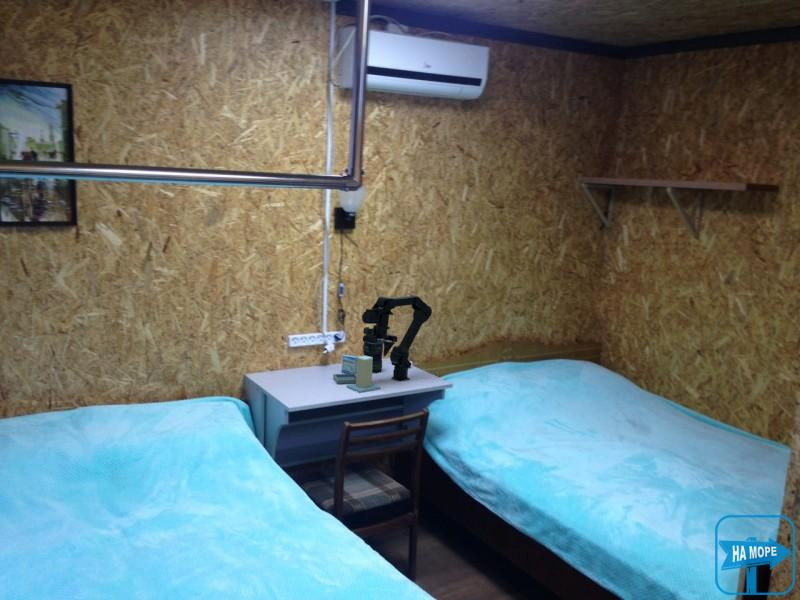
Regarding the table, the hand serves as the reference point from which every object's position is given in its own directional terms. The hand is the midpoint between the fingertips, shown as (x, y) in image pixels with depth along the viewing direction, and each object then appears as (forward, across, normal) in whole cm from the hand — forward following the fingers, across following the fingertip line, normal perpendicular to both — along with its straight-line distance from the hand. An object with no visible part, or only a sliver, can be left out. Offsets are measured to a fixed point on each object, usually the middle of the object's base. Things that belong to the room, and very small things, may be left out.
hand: (378, 356), depth 320 cm
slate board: (+14, +10, +2) cm, 17 cm away
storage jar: (+12, -16, -17) cm, 26 cm away
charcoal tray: (+14, +7, -12) cm, 19 cm away
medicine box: (+13, -5, -21) cm, 25 cm away
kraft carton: (+13, +10, +2) cm, 16 cm away
